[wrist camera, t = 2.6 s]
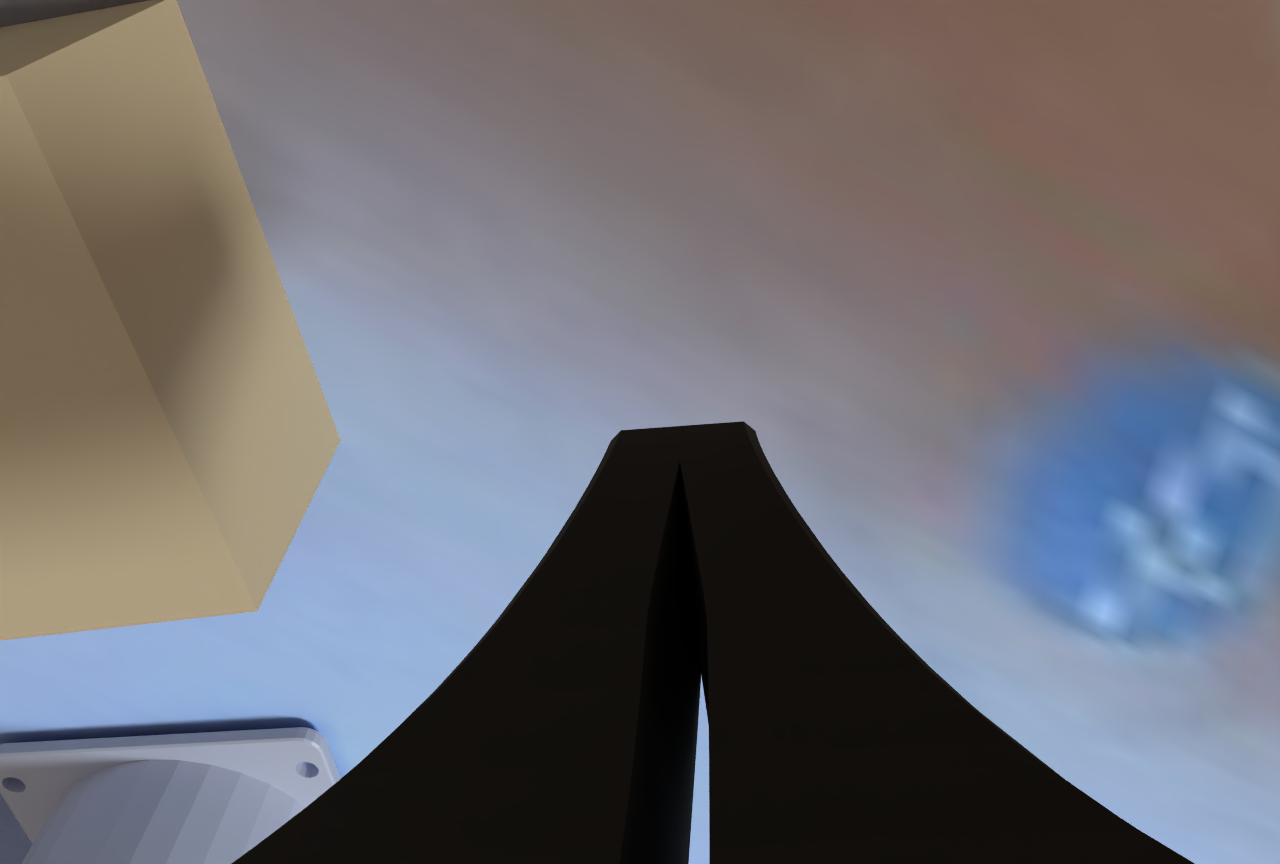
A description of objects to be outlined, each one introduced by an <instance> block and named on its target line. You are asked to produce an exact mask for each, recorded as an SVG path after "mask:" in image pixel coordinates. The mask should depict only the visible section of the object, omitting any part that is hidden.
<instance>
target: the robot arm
mask: <svg viewBox="0 0 1280 864" xmlns="http://www.w3.org/2000/svg"><path fill="white" fill-rule="evenodd" d="M701 675H702V682H703V689H704V696H705V702H706V709H707V716H708V723H709V798H710V864H1194V863H1193V862H1191V861H1189V860H1188V859H1186V858H1184V857H1183V856H1181V855H1179V854H1178V853H1176V852H1174V851H1173V850H1171V849H1169V848H1168V847H1166V846H1164V845H1163V844H1161V843H1160V842H1158V841H1156V840H1155V839H1153V838H1151V837H1150V836H1148V835H1146V834H1145V833H1143V832H1141V831H1140V830H1138V829H1136V828H1135V827H1133V826H1132V825H1130V824H1129V823H1127V822H1126V821H1124V820H1123V819H1121V818H1120V817H1118V816H1117V815H1115V814H1114V813H1112V812H1111V811H1109V810H1108V809H1107V808H1105V807H1104V806H1102V805H1101V804H1099V803H1098V802H1097V801H1095V800H1094V799H1092V798H1091V797H1089V796H1088V795H1086V794H1085V793H1084V792H1082V791H1081V790H1079V789H1078V788H1076V787H1075V786H1074V785H1072V784H1071V783H1069V782H1068V781H1066V780H1065V779H1064V778H1062V777H1061V776H1060V775H1059V774H1057V773H1056V772H1055V771H1053V770H1052V769H1051V768H1050V767H1048V766H1047V765H1046V764H1045V763H1043V762H1042V761H1041V760H1040V759H1038V758H1037V757H1036V756H1035V755H1033V754H1032V753H1031V752H1030V751H1028V750H1027V749H1026V748H1024V747H1023V746H1022V745H1021V744H1019V743H1018V742H1017V741H1016V740H1014V739H1013V738H1012V737H1011V736H1009V735H1008V734H1007V733H1006V732H1004V731H1003V730H1002V729H1000V728H999V727H998V726H997V725H995V724H994V723H993V722H992V721H990V720H989V719H988V718H987V717H985V716H984V715H983V714H982V713H980V712H979V711H978V710H977V709H976V708H974V707H973V706H972V705H971V704H970V703H969V702H968V701H967V700H965V699H964V698H963V697H962V696H961V695H960V694H959V693H958V692H957V691H956V690H955V689H953V688H952V687H951V686H950V685H949V684H948V683H947V682H946V681H945V680H944V679H942V678H941V677H940V676H939V675H938V674H937V673H936V672H935V671H934V670H933V669H931V668H930V667H929V666H928V665H927V664H926V663H925V662H924V661H923V660H922V659H921V658H920V657H919V656H918V655H917V654H916V653H915V652H914V651H913V650H912V649H911V648H910V647H909V646H908V645H907V644H906V643H905V642H904V641H903V640H902V639H901V638H900V637H899V636H898V635H897V634H896V633H895V631H894V630H893V629H892V628H891V627H890V626H889V625H888V624H887V623H886V622H885V621H884V620H883V619H882V617H881V616H880V615H879V614H878V613H877V612H876V611H875V610H874V609H873V607H872V606H871V605H870V604H869V603H868V602H867V601H866V599H865V598H864V597H863V596H862V595H861V594H860V592H859V591H858V590H857V589H856V588H855V586H854V585H853V584H852V583H851V582H850V580H849V579H848V578H847V577H846V576H845V574H844V573H843V572H842V571H841V570H840V568H839V567H838V566H837V564H836V563H835V562H834V561H833V559H832V558H831V557H830V555H829V554H828V553H827V552H826V550H825V549H824V548H823V546H822V545H821V543H820V542H819V541H818V539H817V538H816V536H815V535H814V534H813V532H812V531H811V529H810V528H809V526H808V525H807V524H806V522H805V521H804V519H803V518H802V517H801V515H800V514H799V512H798V511H797V509H796V508H795V506H794V505H793V503H792V502H791V500H790V499H789V497H788V496H787V494H786V492H785V491H784V489H783V487H782V486H781V484H780V482H779V480H778V479H777V477H776V475H775V474H774V472H773V470H772V468H771V466H770V464H769V463H768V461H767V459H766V457H765V455H764V453H763V450H762V448H761V446H760V443H759V441H758V438H757V435H756V432H755V430H753V429H752V428H751V427H750V426H749V425H747V424H746V423H745V422H730V423H716V424H703V425H689V426H675V427H662V428H648V429H634V430H621V431H620V432H619V433H618V434H617V435H616V436H615V437H614V438H613V439H612V440H611V442H610V444H609V446H608V449H607V451H606V453H605V455H604V457H603V459H602V461H601V463H600V465H599V467H598V469H597V471H596V472H595V474H594V476H593V478H592V480H591V482H590V483H589V485H588V487H587V489H586V490H585V492H584V494H583V496H582V497H581V499H580V501H579V502H578V504H577V506H576V508H575V509H574V511H573V512H572V514H571V516H570V517H569V519H568V520H567V522H566V523H565V525H564V526H563V528H562V530H561V531H560V533H559V534H558V536H557V537H556V539H555V540H554V542H553V543H552V545H551V547H550V548H549V550H548V551H547V553H546V554H545V556H544V557H543V559H542V560H541V562H540V563H539V564H538V566H537V567H536V569H535V570H534V571H533V573H532V574H531V575H530V577H529V578H528V579H527V581H526V582H525V583H524V585H523V586H522V587H521V589H520V590H519V591H518V593H517V594H516V595H515V597H514V598H513V599H512V601H511V602H510V603H509V605H508V606H507V607H506V609H505V610H504V611H503V613H502V614H501V615H500V617H499V618H498V619H497V620H496V622H495V623H494V624H493V625H492V627H491V628H490V629H489V630H488V631H487V633H486V634H485V635H484V636H483V637H482V639H481V640H480V641H479V642H478V644H477V645H476V646H475V647H474V648H473V649H472V650H471V652H470V653H469V654H468V655H467V656H466V657H465V658H464V660H463V661H462V662H461V663H460V664H459V665H458V666H457V667H456V668H455V669H454V671H453V672H452V673H451V674H450V675H449V676H448V677H447V678H446V679H445V680H444V681H443V683H442V684H441V685H440V686H439V687H438V688H437V689H436V690H435V691H434V692H433V693H432V694H431V695H430V696H429V697H428V698H427V699H426V700H425V701H424V702H423V703H422V704H421V705H420V706H419V707H418V708H417V709H416V710H415V711H414V712H413V713H412V714H411V715H410V716H409V717H408V718H407V719H406V720H405V721H404V722H403V723H402V724H401V725H400V726H399V727H398V728H397V729H396V730H395V731H393V732H392V733H391V734H390V735H389V736H388V737H387V738H386V739H385V740H384V741H383V742H382V743H381V744H379V745H378V746H377V747H376V748H375V749H374V750H373V751H372V752H371V753H370V754H369V755H368V756H367V757H365V758H364V759H363V760H362V761H361V762H360V763H359V764H358V765H357V766H355V767H354V768H353V769H352V770H351V771H350V772H348V773H347V774H346V775H345V776H344V777H342V778H340V775H339V772H338V770H337V767H336V764H335V762H334V759H333V756H332V754H331V751H330V748H329V746H328V743H327V741H326V739H325V738H324V736H323V735H322V734H320V733H319V732H318V731H316V730H313V729H311V728H305V727H295V728H277V729H258V730H240V731H222V732H203V733H185V734H167V735H148V736H130V737H112V738H93V739H75V740H57V741H38V742H20V743H4V744H0V794H1V795H2V797H3V799H4V800H5V802H6V803H7V805H8V807H9V808H10V810H11V811H12V813H13V815H14V816H15V818H16V819H17V821H18V822H19V824H20V826H21V827H22V829H23V830H24V832H25V834H26V835H27V837H28V838H29V840H30V841H31V843H32V846H31V848H30V849H29V851H28V853H27V854H26V856H25V858H24V860H23V861H22V863H21V864H688V861H689V846H690V831H691V817H692V802H693V788H694V773H695V759H696V744H697V729H698V714H699V699H700V683H701ZM308 762H309V763H308Z"/></svg>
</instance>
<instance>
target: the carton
mask: <svg viewBox="0 0 1280 864" xmlns="http://www.w3.org/2000/svg"><path fill="white" fill-rule="evenodd" d="M339 442H340V437H339V434H338V432H337V429H336V426H335V424H334V421H333V418H332V416H331V413H330V410H329V408H328V405H327V402H326V400H325V397H324V394H323V392H322V389H321V386H320V384H319V381H318V378H317V376H316V373H315V370H314V367H313V365H312V362H311V359H310V357H309V354H308V351H307V349H306V346H305V343H304V341H303V338H302V335H301V333H300V330H299V327H298V325H297V322H296V319H295V317H294V314H293V311H292V309H291V306H290V303H289V301H288V298H287V295H286V293H285V290H284V287H283V284H282V282H281V279H280V276H279V274H278V271H277V268H276V266H275V263H274V260H273V258H272V255H271V252H270V250H269V247H268V244H267V242H266V239H265V236H264V234H263V231H262V228H261V226H260V223H259V220H258V218H257V215H256V212H255V210H254V207H253V204H252V202H251V199H250V196H249V193H248V191H247V188H246V185H245V183H244V180H243V177H242V175H241V172H240V169H239V167H238V164H237V161H236V159H235V156H234V153H233V151H232V148H231V145H230V143H229V140H228V137H227V135H226V132H225V129H224V127H223V124H222V121H221V119H220V116H219V113H218V110H217V108H216V105H215V102H214V100H213V97H212V94H211V92H210V89H209V86H208V84H207V81H206V78H205V76H204V73H203V70H202V68H201V65H200V62H199V60H198V57H197V54H196V52H195V49H194V46H193V44H192V41H191V38H190V36H189V33H188V30H187V28H186V25H185V22H184V19H183V17H182V14H181V11H180V9H179V6H178V3H177V1H176V0H148V1H143V2H137V3H132V4H126V5H121V6H115V7H110V8H104V9H99V10H93V11H88V12H82V13H77V14H71V15H66V16H60V17H55V18H49V19H44V20H38V21H33V22H27V23H22V24H16V25H11V26H5V27H0V640H9V639H17V638H26V637H35V636H44V635H52V634H61V633H70V632H79V631H87V630H96V629H105V628H113V627H122V626H131V625H140V624H148V623H157V622H166V621H175V620H183V619H192V618H201V617H210V616H218V615H227V614H236V613H244V612H253V611H258V609H259V607H260V604H261V602H262V600H263V598H264V596H265V594H266V592H267V590H268V588H269V586H270V584H271V582H272V580H273V578H274V576H275V574H276V572H277V570H278V568H279V565H280V563H281V561H282V559H283V557H284V555H285V553H286V551H287V549H288V547H289V545H290V543H291V541H292V539H293V537H294V535H295V533H296V531H297V528H298V526H299V524H300V522H301V520H302V518H303V516H304V514H305V512H306V510H307V508H308V506H309V504H310V502H311V500H312V498H313V496H314V494H315V492H316V489H317V487H318V485H319V483H320V481H321V479H322V477H323V475H324V473H325V471H326V469H327V467H328V465H329V463H330V461H331V459H332V457H333V455H334V453H335V450H336V448H337V446H338V444H339Z"/></svg>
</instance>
